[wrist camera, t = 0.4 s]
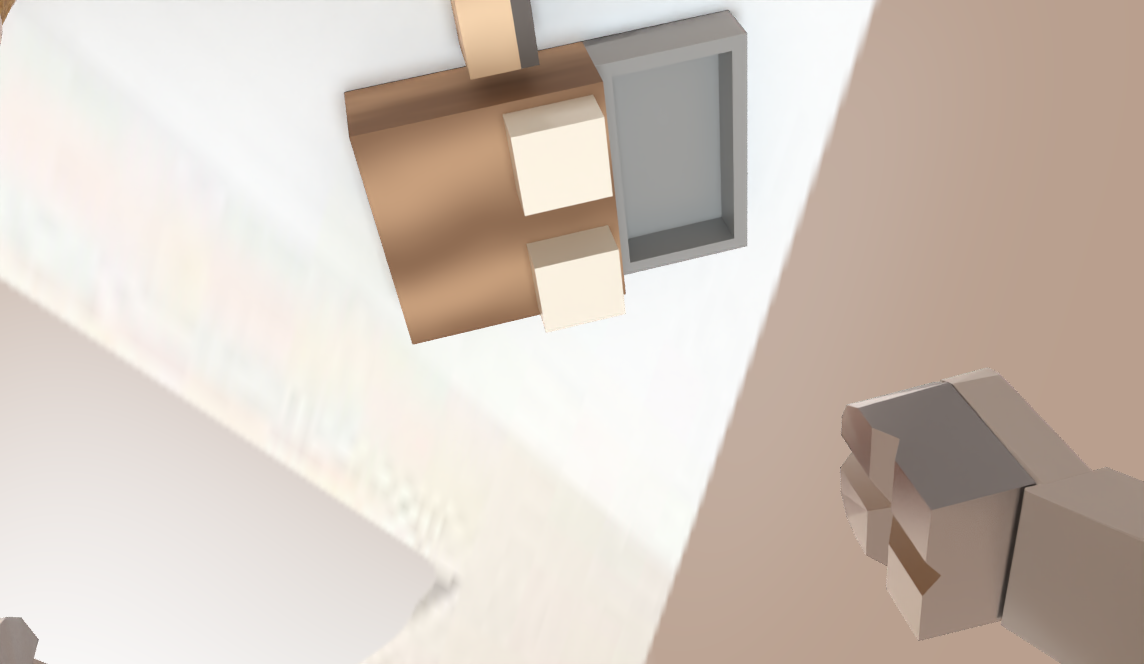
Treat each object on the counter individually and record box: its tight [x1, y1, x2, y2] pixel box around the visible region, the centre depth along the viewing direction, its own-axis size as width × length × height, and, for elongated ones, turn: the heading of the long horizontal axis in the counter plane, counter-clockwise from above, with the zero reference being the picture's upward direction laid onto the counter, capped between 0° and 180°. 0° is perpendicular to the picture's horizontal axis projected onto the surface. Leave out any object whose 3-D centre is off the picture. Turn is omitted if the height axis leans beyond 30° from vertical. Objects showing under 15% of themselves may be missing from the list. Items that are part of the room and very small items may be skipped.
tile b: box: [527, 225, 626, 333], centre depth 49 cm, size 4×4×2 cm
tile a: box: [503, 95, 613, 216], centre depth 44 cm, size 4×4×2 cm
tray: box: [583, 10, 747, 275], centre depth 50 cm, size 12×7×2 cm, turn 7°
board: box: [344, 42, 626, 344], centre depth 48 cm, size 12×11×4 cm
